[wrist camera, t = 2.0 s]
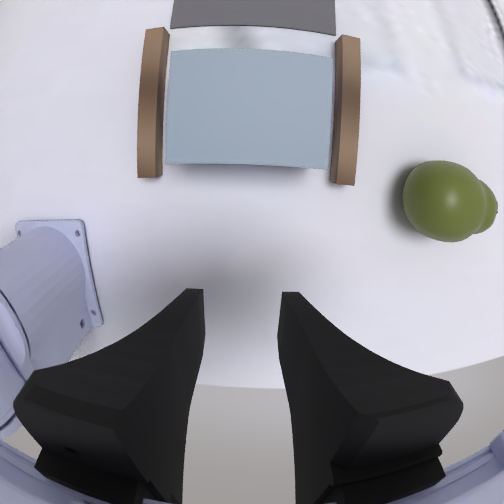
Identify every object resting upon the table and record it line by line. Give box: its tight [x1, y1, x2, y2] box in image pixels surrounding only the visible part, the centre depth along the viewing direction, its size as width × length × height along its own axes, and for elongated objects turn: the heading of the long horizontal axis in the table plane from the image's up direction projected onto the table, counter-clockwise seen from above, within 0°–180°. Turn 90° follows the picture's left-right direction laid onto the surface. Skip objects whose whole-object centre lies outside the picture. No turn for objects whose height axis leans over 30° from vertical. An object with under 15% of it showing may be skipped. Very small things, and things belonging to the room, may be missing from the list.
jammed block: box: [166, 48, 333, 170], centre depth 14 cm, size 6×8×4 cm
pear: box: [402, 161, 498, 242], centre depth 16 cm, size 6×5×10 cm
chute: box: [137, 27, 361, 186], centre depth 15 cm, size 10×13×2 cm
